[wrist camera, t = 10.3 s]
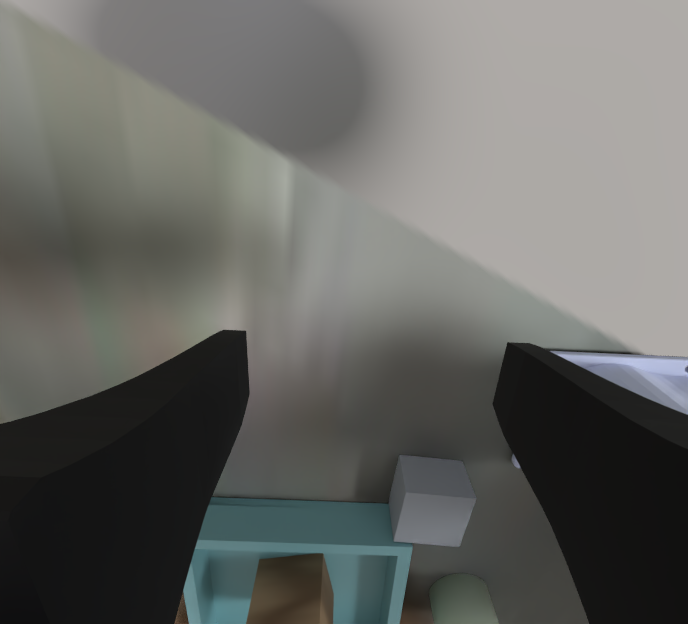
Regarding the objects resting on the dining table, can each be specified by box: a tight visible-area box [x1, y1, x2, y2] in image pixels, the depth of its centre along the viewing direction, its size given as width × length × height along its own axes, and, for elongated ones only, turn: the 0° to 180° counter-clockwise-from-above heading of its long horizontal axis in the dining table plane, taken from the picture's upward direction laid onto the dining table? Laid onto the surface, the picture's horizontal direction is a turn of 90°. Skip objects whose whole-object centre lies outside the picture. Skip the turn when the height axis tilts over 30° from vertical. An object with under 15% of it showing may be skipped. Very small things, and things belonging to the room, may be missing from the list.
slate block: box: [389, 455, 477, 547], centre depth 24 cm, size 4×4×3 cm
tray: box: [183, 497, 413, 624], centre depth 27 cm, size 14×14×3 cm
